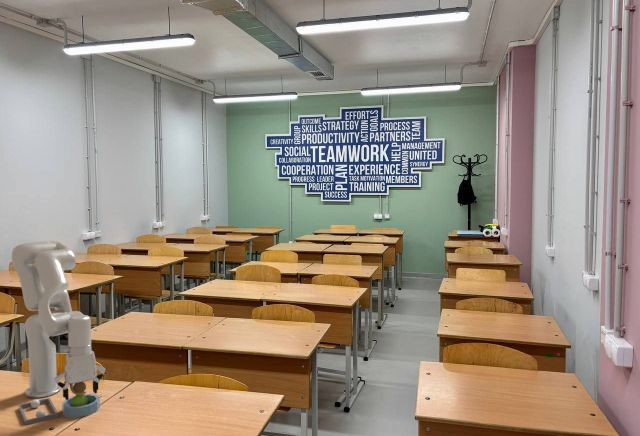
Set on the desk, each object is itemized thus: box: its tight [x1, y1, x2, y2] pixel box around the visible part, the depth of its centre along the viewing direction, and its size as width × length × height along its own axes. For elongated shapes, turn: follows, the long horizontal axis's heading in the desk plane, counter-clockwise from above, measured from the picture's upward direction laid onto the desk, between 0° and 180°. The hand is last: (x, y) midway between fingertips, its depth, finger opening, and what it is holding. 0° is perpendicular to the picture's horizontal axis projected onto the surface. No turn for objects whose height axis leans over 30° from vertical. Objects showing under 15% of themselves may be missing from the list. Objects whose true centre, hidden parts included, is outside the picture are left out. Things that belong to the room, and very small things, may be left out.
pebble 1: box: [30, 398, 41, 409], centre depth 188 cm, size 3×3×3 cm
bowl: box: [61, 393, 101, 419], centre depth 186 cm, size 12×12×4 cm
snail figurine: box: [69, 381, 88, 407], centre depth 185 cm, size 5×6×12 cm
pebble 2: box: [35, 409, 46, 418], centre depth 179 cm, size 3×3×3 cm
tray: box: [18, 397, 59, 426], centre depth 183 cm, size 16×10×2 cm, turn 38°
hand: (81, 395), depth 186 cm, fingers open, 9 cm apart
